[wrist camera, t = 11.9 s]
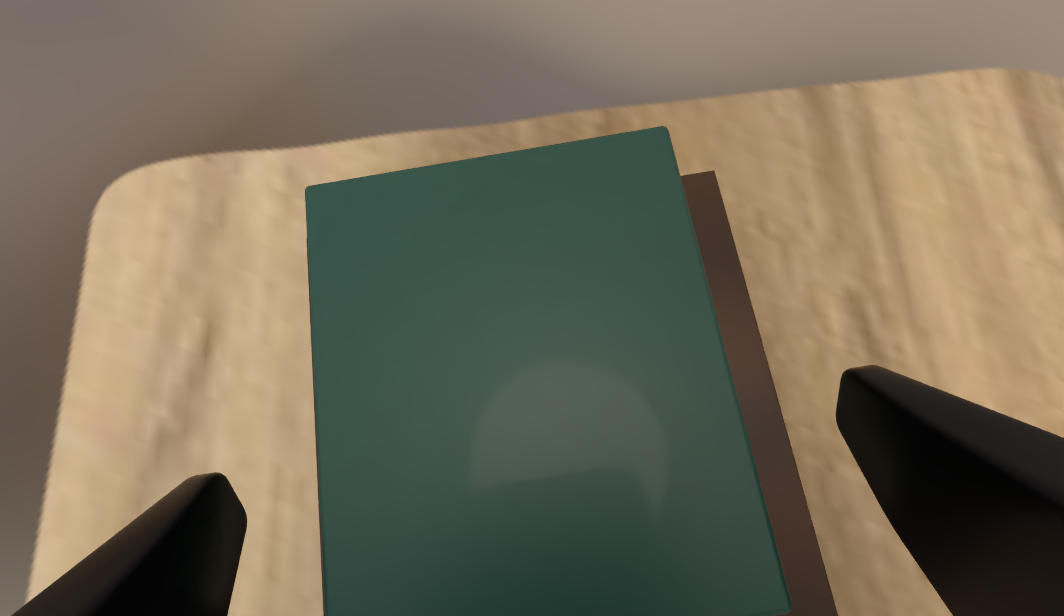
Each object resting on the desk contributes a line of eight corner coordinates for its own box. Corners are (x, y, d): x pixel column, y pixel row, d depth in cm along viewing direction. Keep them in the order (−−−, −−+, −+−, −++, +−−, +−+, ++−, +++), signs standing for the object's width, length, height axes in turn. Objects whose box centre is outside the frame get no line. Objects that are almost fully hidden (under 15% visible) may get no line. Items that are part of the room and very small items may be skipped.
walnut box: (787, 626, 18) (855, 674, 14) (382, 691, 19) (329, 757, 14) (686, 225, 22) (714, 169, 18) (353, 280, 23) (305, 237, 18)
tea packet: (609, 315, 17) (669, 121, 7) (652, 522, 15) (799, 616, 6) (447, 342, 17) (301, 183, 8) (472, 552, 15) (324, 693, 6)
